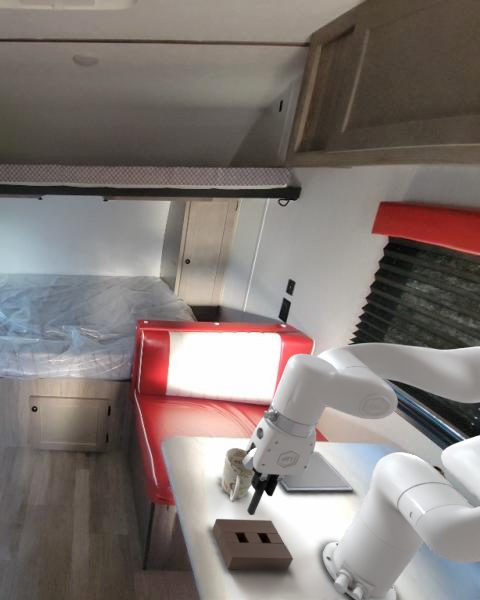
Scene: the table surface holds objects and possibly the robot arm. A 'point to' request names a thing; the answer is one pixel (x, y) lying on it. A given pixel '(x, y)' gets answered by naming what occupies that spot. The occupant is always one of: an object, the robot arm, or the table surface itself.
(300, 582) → the table surface
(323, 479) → the tablet
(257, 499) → the stylus
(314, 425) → the robot arm
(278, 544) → the pen stand
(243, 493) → the mug
